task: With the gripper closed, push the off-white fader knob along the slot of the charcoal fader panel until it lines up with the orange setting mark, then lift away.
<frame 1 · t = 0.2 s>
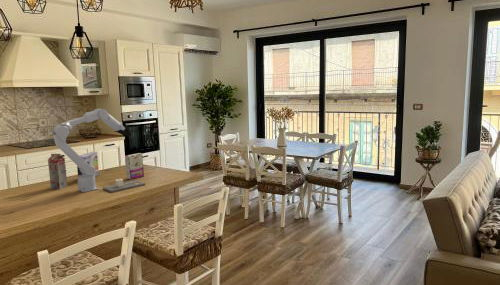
hand: (128, 135, 236), 31 cm above the table, tool tilted 45°, fingers open, 7 cm apart
cake pan box: (88, 179, 250), on the table
fader panel: (124, 187, 226), on the table
juice carton: (59, 187, 228), on the table
candy bar box: (135, 177, 250), on the table
fader knob: (119, 182, 223), point 3 cm above the table, slide at 0.0 cm
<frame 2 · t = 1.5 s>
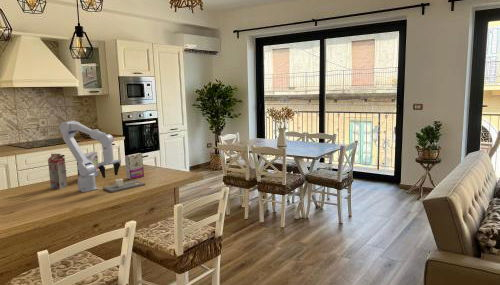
hand: (110, 176, 218), 9 cm above the table, tool pointing down, fingers open, 7 cm apart
nothing on the table moved.
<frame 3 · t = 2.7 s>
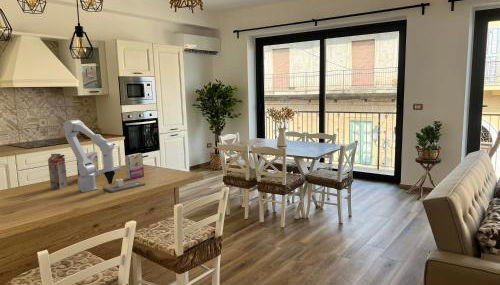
hand: (110, 183, 219), 4 cm above the table, tool pointing down, fingers closed
nothing on the table moved.
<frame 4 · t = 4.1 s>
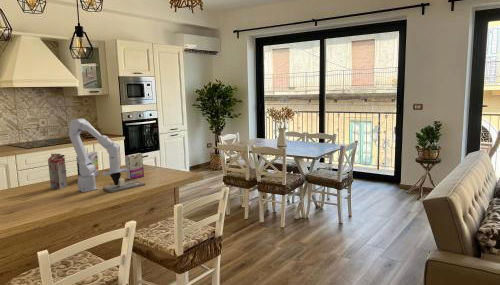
hand: (116, 185, 221), 2 cm above the table, tool pointing down, fingers closed
fader knob: (120, 182, 224), point 3 cm above the table, slide at 0.9 cm, touching gripper
everything else where it was.
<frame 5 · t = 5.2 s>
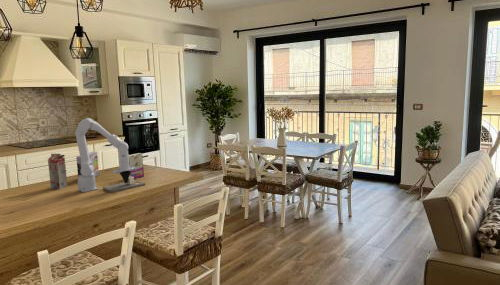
hand: (125, 183, 226), 2 cm above the table, tool pointing down, fingers closed
fader knob: (130, 180, 228), point 3 cm above the table, slide at 7.3 cm, touching gripper
everything else where it was.
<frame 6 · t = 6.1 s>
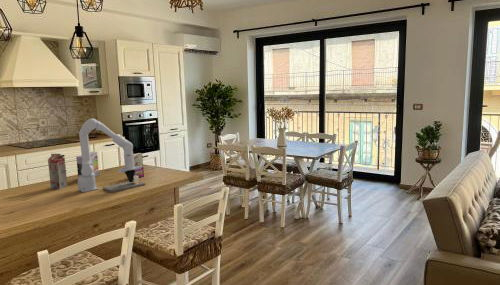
hand: (130, 182, 228), 2 cm above the table, tool pointing down, fingers closed
fader knob: (135, 179, 230), point 3 cm above the table, slide at 10.5 cm, touching gripper
everything else where it was.
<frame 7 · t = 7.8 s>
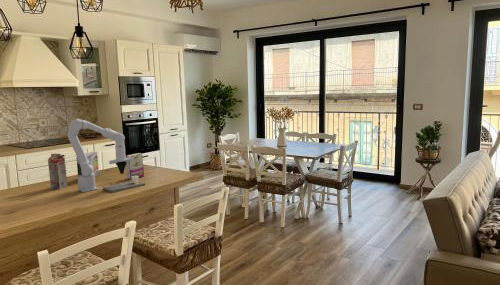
hand: (121, 173, 227), 8 cm above the table, tool pointing down, fingers closed
fader knob: (135, 179, 230), point 3 cm above the table, slide at 10.6 cm
everything else where it was.
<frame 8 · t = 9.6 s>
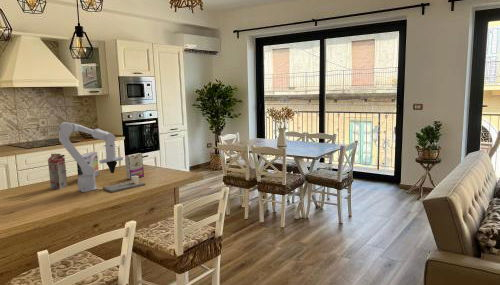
hand: (112, 172, 228), 8 cm above the table, tool pointing down, fingers closed
nothing on the table moved.
at the end: fader knob slide at 10.6 cm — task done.
